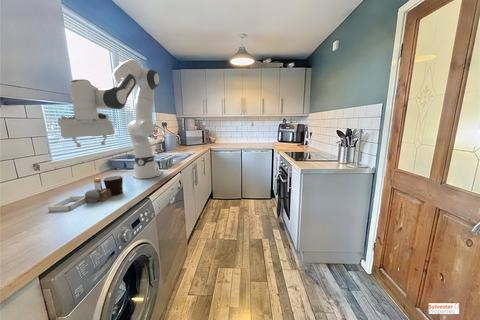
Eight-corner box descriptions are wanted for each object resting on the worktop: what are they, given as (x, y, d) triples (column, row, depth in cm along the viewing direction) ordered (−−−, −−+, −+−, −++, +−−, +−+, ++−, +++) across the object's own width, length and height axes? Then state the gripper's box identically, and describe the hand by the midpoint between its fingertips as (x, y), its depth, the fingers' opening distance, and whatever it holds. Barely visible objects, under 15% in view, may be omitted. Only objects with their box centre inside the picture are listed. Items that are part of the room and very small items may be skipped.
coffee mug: (119, 199, 106) (116, 180, 104) (102, 199, 106) (99, 180, 104) (131, 191, 117) (128, 173, 116) (116, 191, 118) (113, 174, 116)
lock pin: (99, 197, 105) (96, 178, 103) (104, 197, 105) (101, 177, 103) (95, 199, 102) (92, 179, 101) (101, 199, 103) (98, 179, 101)
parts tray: (72, 201, 103) (71, 196, 103) (90, 201, 104) (89, 195, 103) (49, 213, 91) (47, 206, 90) (70, 212, 91) (69, 205, 90)
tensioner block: (97, 197, 108) (95, 184, 107) (113, 197, 108) (111, 183, 107) (84, 205, 98) (81, 191, 97) (101, 204, 98) (99, 190, 97)
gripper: (56, 116, 88) (62, 149, 90) (112, 115, 100) (116, 144, 102) (57, 116, 93) (63, 147, 95) (111, 115, 105) (115, 143, 107)
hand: (91, 146), depth 99 cm, fingers open, 8 cm apart
